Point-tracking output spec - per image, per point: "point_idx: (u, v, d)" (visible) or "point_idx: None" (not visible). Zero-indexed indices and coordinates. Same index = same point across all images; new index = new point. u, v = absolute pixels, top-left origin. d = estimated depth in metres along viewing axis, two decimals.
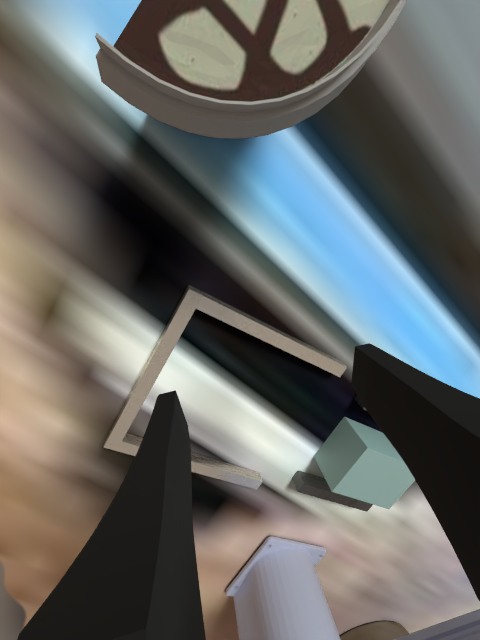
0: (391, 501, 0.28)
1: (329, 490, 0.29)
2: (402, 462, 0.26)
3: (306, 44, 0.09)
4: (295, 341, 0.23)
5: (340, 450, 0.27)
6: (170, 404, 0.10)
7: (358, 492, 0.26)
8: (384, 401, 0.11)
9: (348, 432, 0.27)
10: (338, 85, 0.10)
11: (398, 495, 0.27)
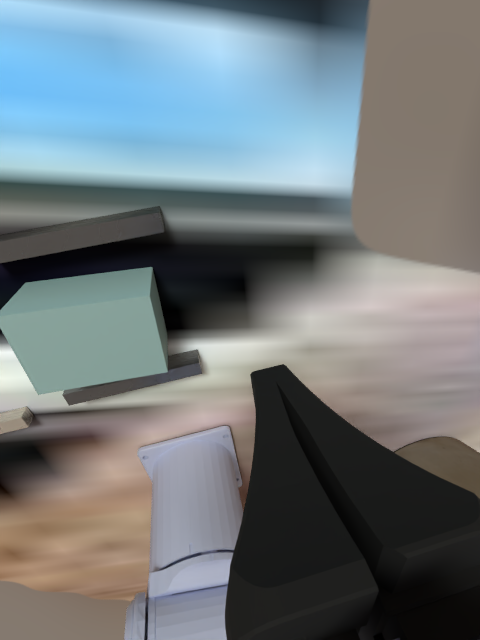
0: (156, 362, 0.17)
1: None
2: (91, 305, 0.15)
3: None
4: None
5: None
6: (269, 379, 0.11)
7: (80, 376, 0.17)
8: None
9: None
10: None
11: (157, 349, 0.17)
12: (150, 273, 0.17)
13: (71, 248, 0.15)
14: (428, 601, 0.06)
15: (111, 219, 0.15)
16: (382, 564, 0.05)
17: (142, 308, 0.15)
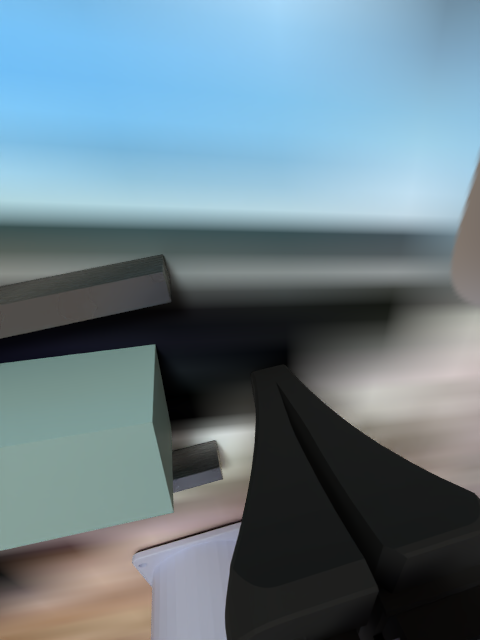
0: (157, 503, 0.11)
1: None
2: (48, 441, 0.08)
3: None
4: None
5: None
6: (269, 379, 0.11)
7: (31, 531, 0.10)
8: None
9: None
10: None
11: (159, 488, 0.10)
12: (152, 360, 0.11)
13: (11, 334, 0.09)
14: (427, 602, 0.06)
15: (80, 283, 0.09)
16: (382, 564, 0.05)
17: (138, 439, 0.09)
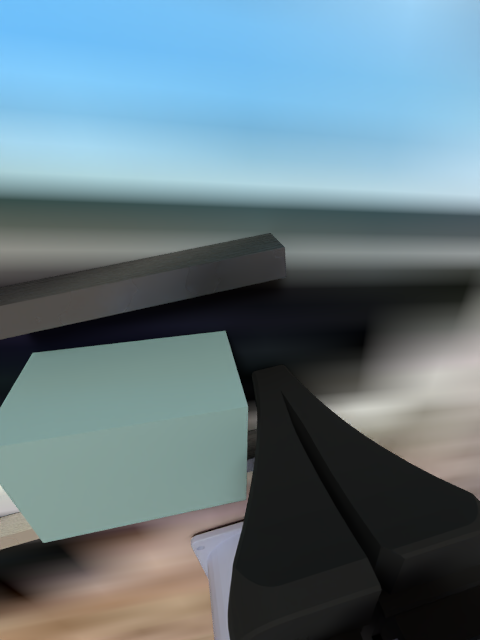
0: (233, 489, 0.11)
1: None
2: (150, 424, 0.08)
3: None
4: None
5: None
6: (271, 379, 0.11)
7: (114, 515, 0.10)
8: None
9: None
10: None
11: (239, 474, 0.11)
12: (228, 348, 0.11)
13: (139, 307, 0.09)
14: (426, 603, 0.06)
15: (204, 258, 0.09)
16: (380, 564, 0.05)
17: (231, 424, 0.09)
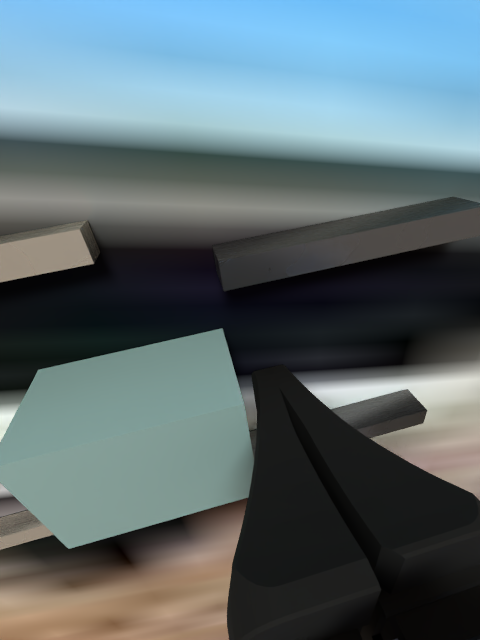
0: (245, 485, 0.11)
1: None
2: (148, 430, 0.09)
3: None
4: None
5: None
6: (271, 379, 0.11)
7: (131, 519, 0.11)
8: None
9: None
10: None
11: (248, 470, 0.11)
12: (225, 346, 0.11)
13: (354, 261, 0.10)
14: (426, 603, 0.06)
15: (411, 216, 0.10)
16: (381, 565, 0.05)
17: (230, 422, 0.09)
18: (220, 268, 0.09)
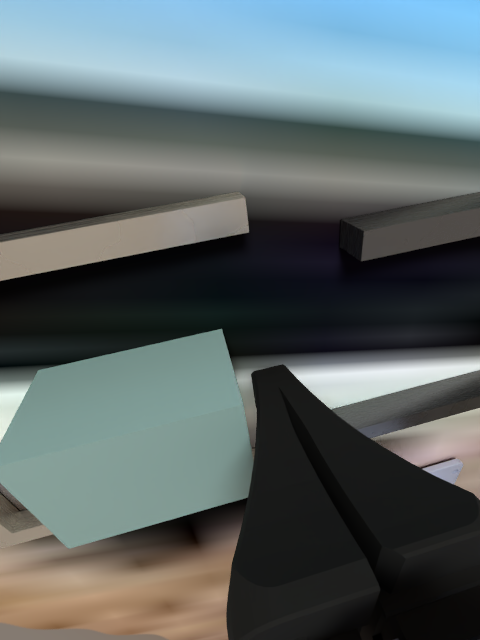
0: (244, 485, 0.11)
1: (403, 414, 0.15)
2: (148, 430, 0.09)
3: None
4: (59, 231, 0.08)
5: None
6: (270, 379, 0.11)
7: (131, 518, 0.11)
8: None
9: None
10: None
11: (247, 470, 0.11)
12: (224, 346, 0.11)
13: None
14: (427, 603, 0.06)
15: None
16: (381, 565, 0.05)
17: (229, 423, 0.09)
18: (363, 238, 0.10)
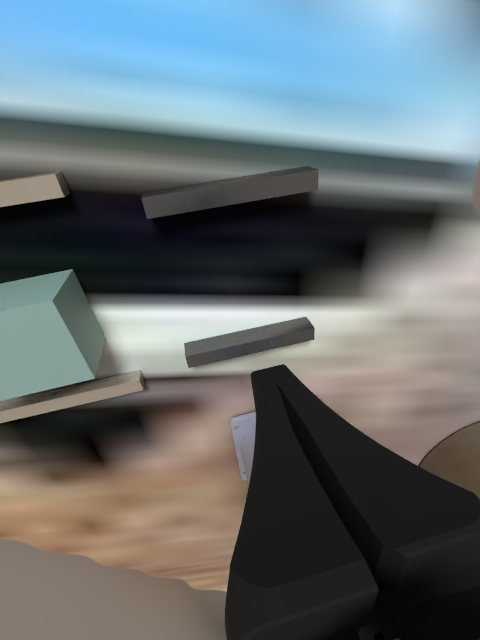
0: (79, 369, 0.16)
1: (232, 344, 0.21)
2: None
3: None
4: None
5: None
6: (270, 379, 0.11)
7: (0, 389, 0.16)
8: None
9: None
10: None
11: (77, 356, 0.16)
12: (66, 276, 0.16)
13: (232, 203, 0.16)
14: (428, 603, 0.06)
15: (270, 175, 0.16)
16: (383, 564, 0.05)
17: (47, 314, 0.14)
18: (143, 203, 0.15)
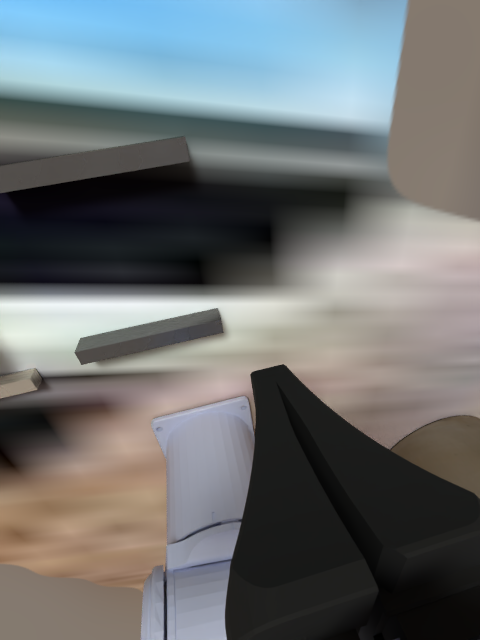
0: None
1: (128, 338, 0.19)
2: None
3: None
4: None
5: None
6: (269, 379, 0.11)
7: None
8: None
9: None
10: None
11: None
12: None
13: (88, 176, 0.14)
14: (427, 601, 0.06)
15: (132, 145, 0.14)
16: (383, 564, 0.05)
17: None
18: None
